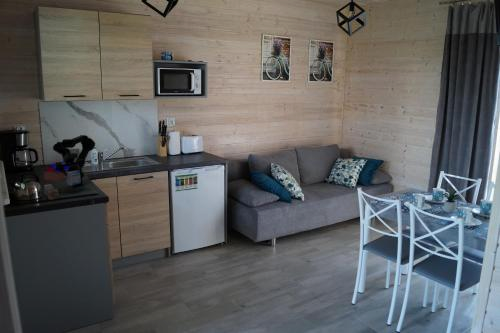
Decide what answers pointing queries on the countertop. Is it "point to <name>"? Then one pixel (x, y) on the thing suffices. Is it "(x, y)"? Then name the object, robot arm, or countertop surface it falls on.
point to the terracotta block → (47, 186)
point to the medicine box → (73, 177)
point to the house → (54, 173)
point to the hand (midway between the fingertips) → (73, 174)
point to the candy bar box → (74, 152)
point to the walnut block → (53, 194)
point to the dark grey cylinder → (48, 189)
